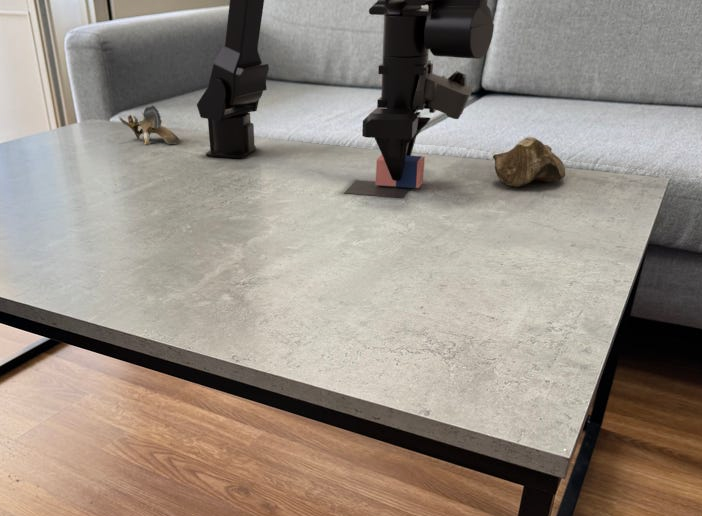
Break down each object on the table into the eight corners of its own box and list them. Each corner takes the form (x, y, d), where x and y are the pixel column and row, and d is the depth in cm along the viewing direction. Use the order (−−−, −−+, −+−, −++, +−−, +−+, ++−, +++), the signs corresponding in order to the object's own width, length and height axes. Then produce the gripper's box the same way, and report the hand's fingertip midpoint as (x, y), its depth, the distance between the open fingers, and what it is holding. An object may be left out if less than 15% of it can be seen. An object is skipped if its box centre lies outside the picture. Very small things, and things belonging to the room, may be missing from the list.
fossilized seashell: (554, 153, 99) (483, 168, 100) (564, 118, 93) (488, 134, 94) (571, 194, 96) (497, 208, 96) (582, 160, 90) (504, 176, 91)
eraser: (375, 185, 96) (376, 159, 95) (380, 179, 99) (381, 153, 97) (418, 188, 94) (420, 162, 93) (423, 182, 97) (424, 156, 95)
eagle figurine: (116, 140, 122) (158, 133, 117) (119, 100, 122) (161, 92, 118) (144, 155, 128) (184, 149, 124) (146, 117, 129) (187, 110, 125)
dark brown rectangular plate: (344, 193, 95) (344, 192, 95) (355, 180, 100) (355, 180, 100) (402, 198, 93) (402, 197, 92) (411, 185, 97) (411, 184, 97)
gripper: (459, 66, 78) (447, 202, 86) (480, 45, 93) (468, 162, 101) (362, 65, 82) (359, 195, 90) (397, 44, 97) (392, 158, 105)
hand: (399, 176), depth 96 cm, fingers closed on eraser, 3 cm apart
